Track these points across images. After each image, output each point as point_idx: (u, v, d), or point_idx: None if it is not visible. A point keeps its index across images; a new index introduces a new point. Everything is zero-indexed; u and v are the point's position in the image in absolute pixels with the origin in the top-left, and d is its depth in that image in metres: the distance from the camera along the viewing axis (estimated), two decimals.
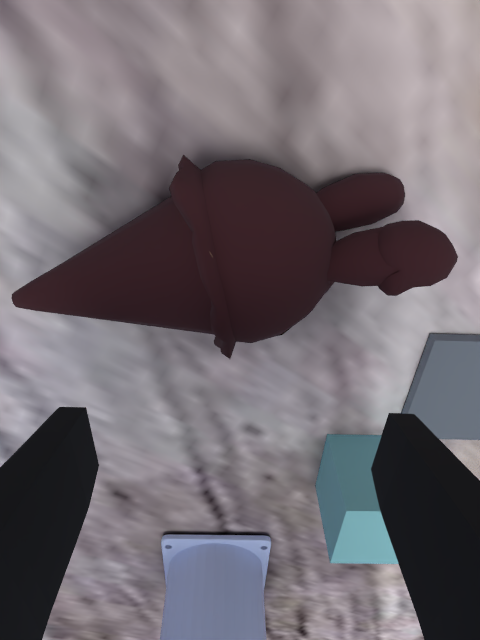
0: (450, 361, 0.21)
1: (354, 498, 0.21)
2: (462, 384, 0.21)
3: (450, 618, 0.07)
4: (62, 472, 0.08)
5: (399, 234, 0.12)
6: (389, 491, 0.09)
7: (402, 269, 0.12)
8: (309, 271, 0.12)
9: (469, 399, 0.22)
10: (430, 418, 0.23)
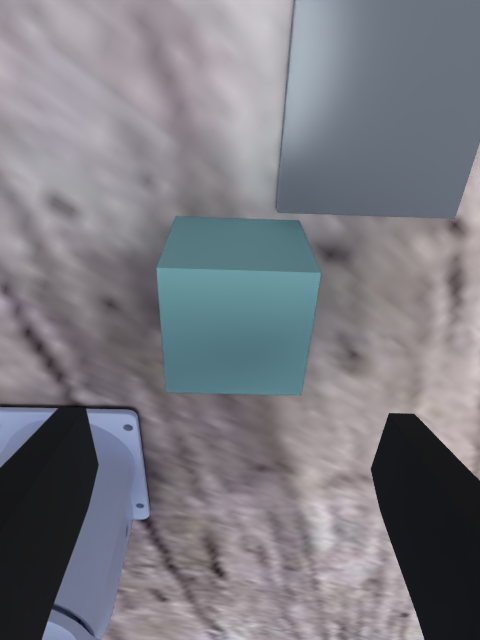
0: (330, 33, 0.13)
1: (178, 259, 0.13)
2: (357, 90, 0.14)
3: (450, 618, 0.07)
4: (62, 472, 0.08)
5: None
6: (389, 491, 0.09)
7: None
8: None
9: (373, 125, 0.14)
10: (318, 168, 0.15)
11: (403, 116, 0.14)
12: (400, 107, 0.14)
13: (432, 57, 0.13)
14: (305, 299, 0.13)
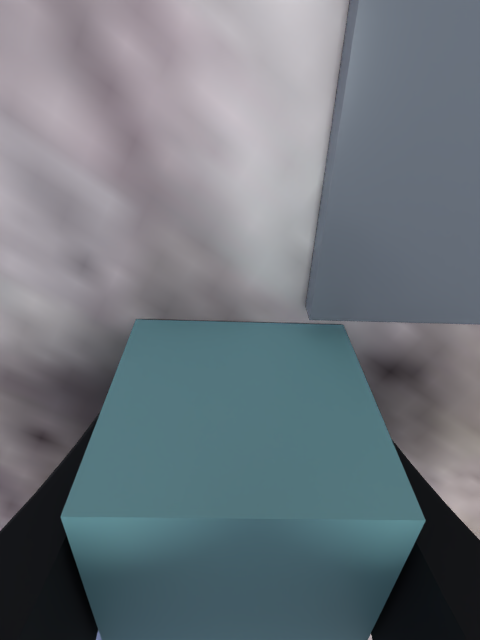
0: None
1: (116, 473, 0.06)
2: (478, 112, 0.07)
3: (392, 618, 0.07)
4: None
5: None
6: None
7: None
8: None
9: None
10: (387, 251, 0.08)
11: None
12: None
13: None
14: (384, 558, 0.06)
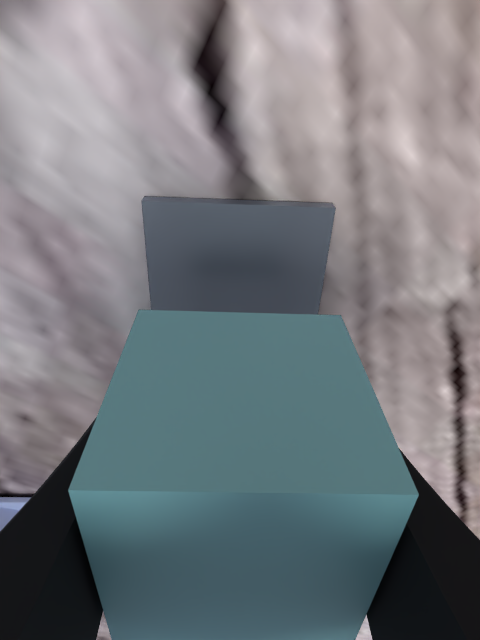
0: (176, 236, 0.15)
1: (121, 451, 0.06)
2: (207, 273, 0.16)
3: (392, 618, 0.07)
4: None
5: None
6: None
7: None
8: None
9: (225, 297, 0.17)
10: None
11: (249, 290, 0.16)
12: (245, 284, 0.16)
13: (265, 251, 0.16)
14: (380, 533, 0.06)
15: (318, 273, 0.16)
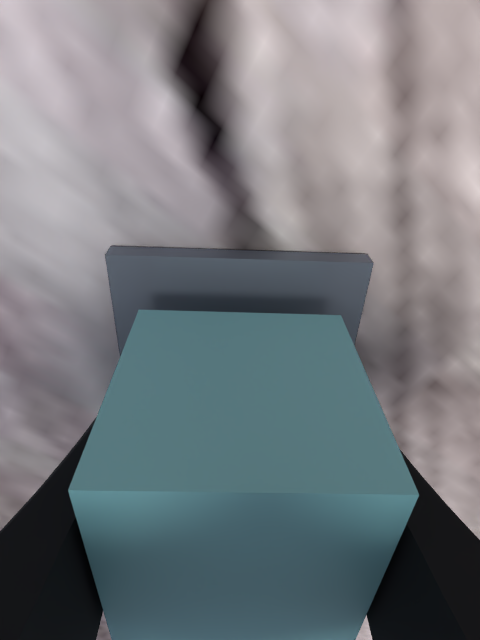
0: (154, 299, 0.11)
1: (121, 451, 0.06)
2: None
3: (392, 618, 0.07)
4: None
5: None
6: None
7: None
8: None
9: None
10: None
11: None
12: None
13: None
14: (380, 533, 0.06)
15: None
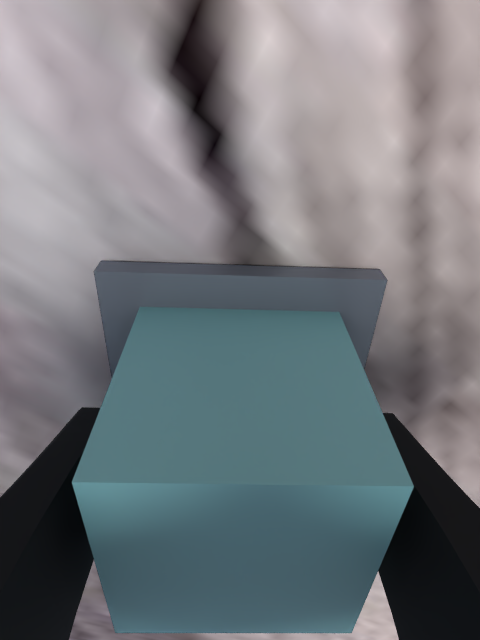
0: None
1: (123, 445, 0.06)
2: None
3: (422, 618, 0.07)
4: None
5: None
6: None
7: None
8: None
9: None
10: None
11: None
12: None
13: None
14: (376, 524, 0.06)
15: None
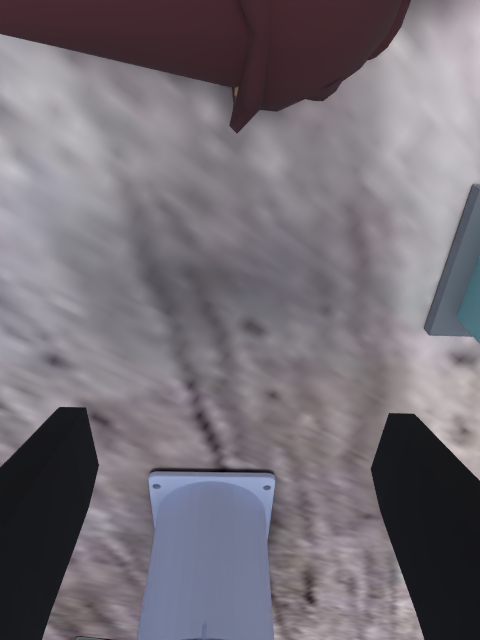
0: None
1: None
2: None
3: (450, 618, 0.07)
4: (62, 472, 0.08)
5: None
6: (389, 491, 0.09)
7: None
8: None
9: None
10: None
11: None
12: None
13: None
14: None
15: None
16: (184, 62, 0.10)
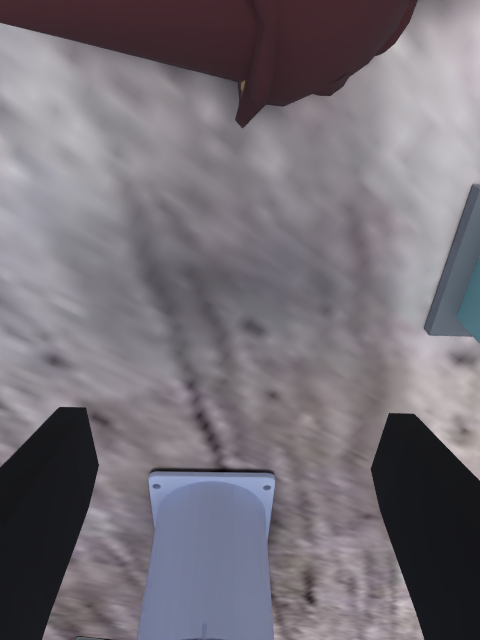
0: None
1: None
2: None
3: (450, 618, 0.07)
4: (62, 472, 0.08)
5: None
6: (389, 491, 0.09)
7: None
8: None
9: None
10: None
11: None
12: None
13: None
14: None
15: None
16: (191, 55, 0.10)
